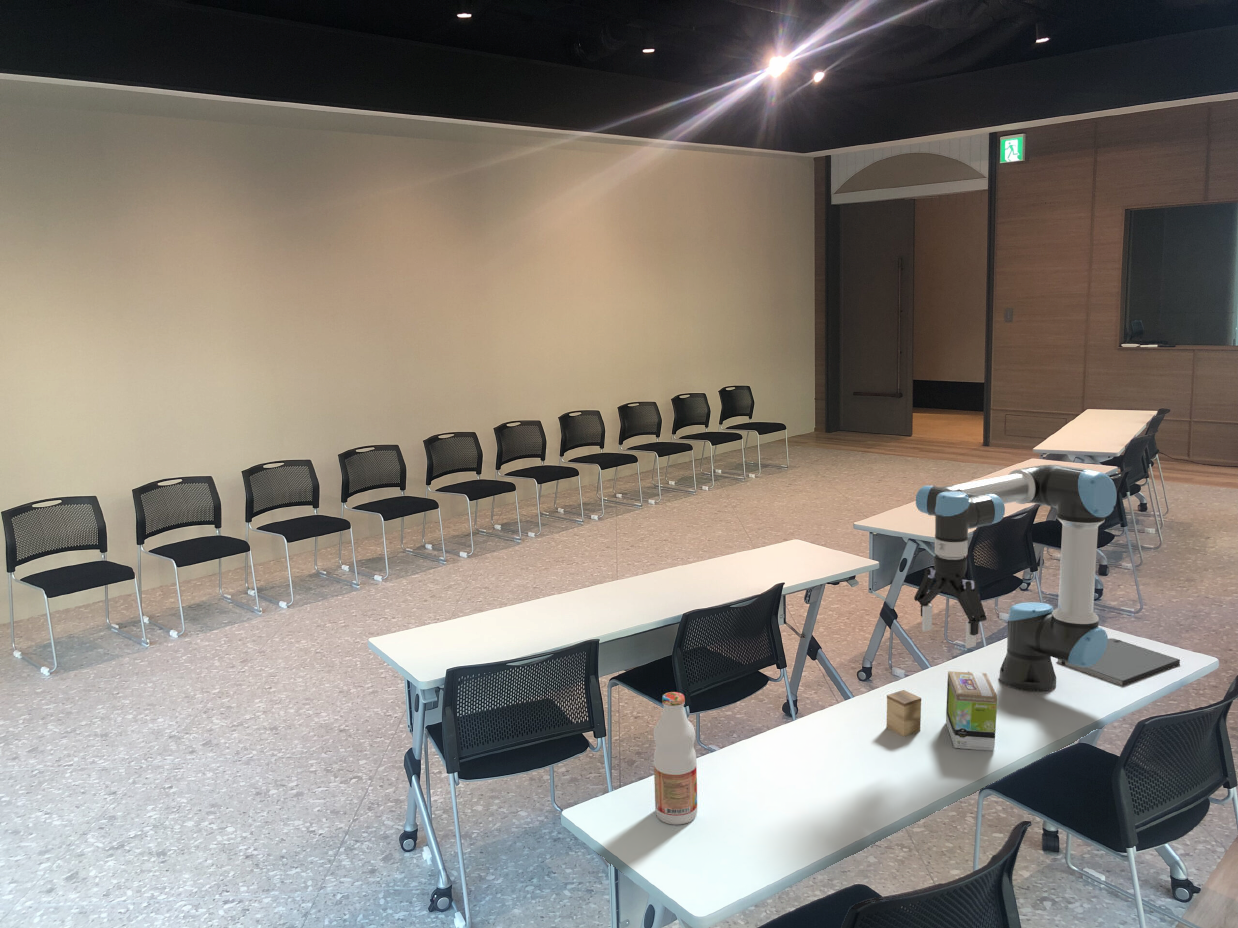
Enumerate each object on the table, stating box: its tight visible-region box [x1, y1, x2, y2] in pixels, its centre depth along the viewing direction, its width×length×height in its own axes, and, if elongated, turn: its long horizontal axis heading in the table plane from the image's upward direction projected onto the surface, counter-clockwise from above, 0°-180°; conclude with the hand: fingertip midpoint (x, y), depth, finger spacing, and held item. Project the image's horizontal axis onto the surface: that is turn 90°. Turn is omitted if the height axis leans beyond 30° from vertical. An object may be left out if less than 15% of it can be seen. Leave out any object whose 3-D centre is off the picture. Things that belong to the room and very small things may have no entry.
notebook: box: [1057, 637, 1181, 687], centre depth 277 cm, size 22×2×28 cm
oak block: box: [886, 689, 922, 737], centre depth 240 cm, size 6×6×9 cm
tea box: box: [945, 670, 998, 751], centre depth 234 cm, size 15×10×15 cm, turn 168°
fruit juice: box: [653, 691, 698, 826], centre depth 202 cm, size 9×9×28 cm
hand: (948, 638), depth 227 cm, fingers open, 13 cm apart
